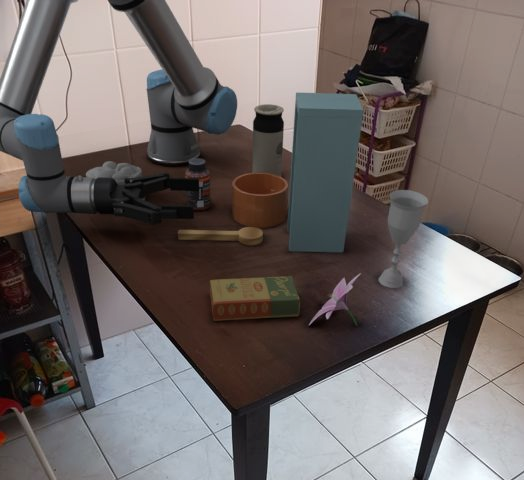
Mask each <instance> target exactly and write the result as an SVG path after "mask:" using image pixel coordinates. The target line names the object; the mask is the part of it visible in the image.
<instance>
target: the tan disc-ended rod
mask: <svg viewBox="0 0 524 480" xmlns="http://www.w3.org/2000/svg"><path fill="white" fill-rule="evenodd" d="M177 240H180V241H181V240H182V241H221V242H222V241H226V242H227V241H228V242H229V241H230V242H239V243H240V244H242V245H245V246H257V245H260V244H262V242H263V240H264V231H263V230H262V228H256V227H249V226H245V227H242V228H240V229H239V230H211V229H178V231H177Z"/></svg>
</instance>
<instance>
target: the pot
mask: <svg viewBox="0 0 524 480" xmlns="http://www.w3.org/2000/svg"><path fill="white" fill-rule="evenodd" d="M231 183H232V184H231V189H232V191H231V192H232V194H231V199H232V204H231V205H232V208H231V209H232V218H233V219H234V221H236V222H237V223H238V224H240V225H241V226H242V225H243V226H245V227H256V228H259V229H265V228H272V227H276V226H278V225H281V224H282V223H284V221H286V218H287V214H288V212H287V211H288V198H289V197H288V195H289V182H288V181H287V180H286V179H285V178H284V177H282V176H281V177H280V176H277V175H274V174H269V173H252V172H248V173H244V174H240V175H238V176H236V177H235V178H234V179H233V180H232V182H231Z"/></svg>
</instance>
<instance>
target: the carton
mask: <svg viewBox="0 0 524 480" xmlns="http://www.w3.org/2000/svg"><path fill="white" fill-rule="evenodd" d="M209 294H210V295H209V297H210V302H211V311H212V312H211V313H212V321H214V322H216V321H232V320H233V321H234V320H251V319H252V320H253V319H269V318H270V319H272V318H296V317H299V316H300V313H301V299H300V296H299V294H298V291H297V287H296V285H295V282H294V278H293V276H292V275H283V276H282V275H281V276H265V277H242V278H225V279H224V278H221V279H210V280H209Z"/></svg>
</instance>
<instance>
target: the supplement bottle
mask: <svg viewBox="0 0 524 480" xmlns="http://www.w3.org/2000/svg"><path fill="white" fill-rule="evenodd" d="M184 178H199V191H185V194H186V197H185V198H186V205H194V211H206V210H207V209H209V208H210V207H211V205H212V198H211V197H212V195H211V172H210V170H209V169H208V168H207V163H206V160H205V159H203V158H199V159H191V160H189V164H188V168H187V169H186V170H185V172H184Z"/></svg>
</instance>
